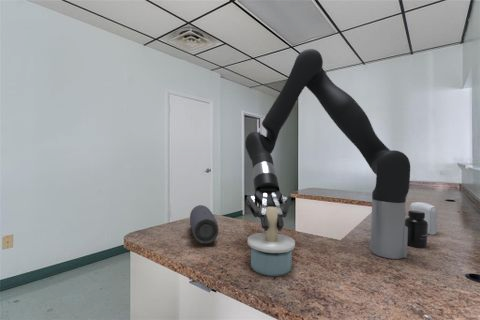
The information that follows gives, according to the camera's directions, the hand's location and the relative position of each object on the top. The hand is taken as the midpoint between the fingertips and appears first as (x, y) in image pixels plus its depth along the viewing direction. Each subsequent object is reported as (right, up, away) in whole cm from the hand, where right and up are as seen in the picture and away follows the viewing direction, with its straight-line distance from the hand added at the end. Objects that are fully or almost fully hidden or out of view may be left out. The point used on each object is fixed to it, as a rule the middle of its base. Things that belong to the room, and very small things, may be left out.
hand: (273, 229), depth 65 cm
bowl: (0, -11, +2) cm, 11 cm away
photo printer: (+69, -12, +39) cm, 81 cm away
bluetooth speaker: (-23, -10, +26) cm, 36 cm away
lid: (0, -5, +2) cm, 5 cm away
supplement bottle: (+54, -12, +22) cm, 60 cm away
